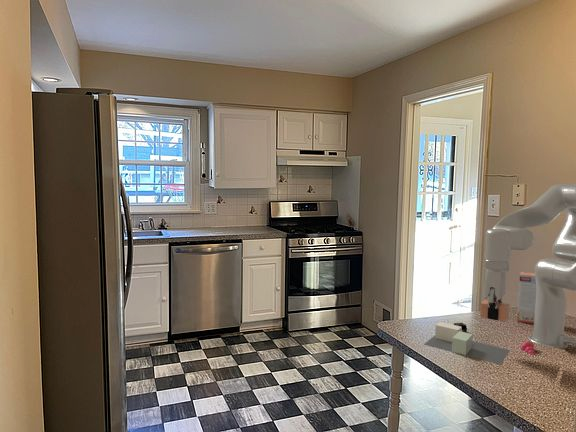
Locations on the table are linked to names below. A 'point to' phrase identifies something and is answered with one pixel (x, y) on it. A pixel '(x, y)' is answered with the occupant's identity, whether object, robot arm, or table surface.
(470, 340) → the sage brick
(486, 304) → the terracotta brick
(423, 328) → the table surface
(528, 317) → the cracker box
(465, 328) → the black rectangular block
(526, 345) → the toy pieces
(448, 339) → the cream brick
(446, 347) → the baseplate
